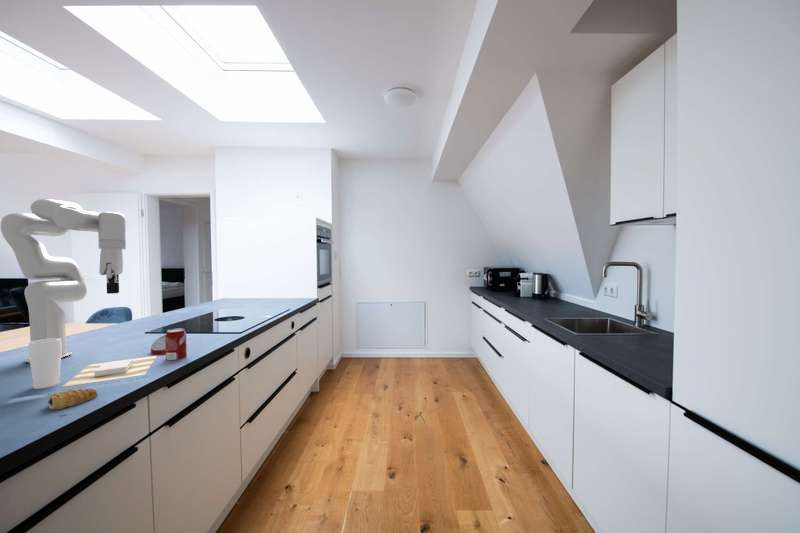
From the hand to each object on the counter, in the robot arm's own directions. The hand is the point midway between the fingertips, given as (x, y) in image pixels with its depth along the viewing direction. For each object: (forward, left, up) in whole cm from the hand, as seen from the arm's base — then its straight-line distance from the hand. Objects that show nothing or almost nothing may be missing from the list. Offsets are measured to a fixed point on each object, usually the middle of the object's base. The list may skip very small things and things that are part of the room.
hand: (113, 293), depth 117 cm
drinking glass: (+19, -12, -28) cm, 35 cm away
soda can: (+7, +20, -28) cm, 35 cm away
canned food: (-6, +15, -28) cm, 32 cm away
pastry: (+37, -1, -28) cm, 46 cm away
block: (+8, +3, -25) cm, 27 cm away
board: (+12, +3, -27) cm, 30 cm away
